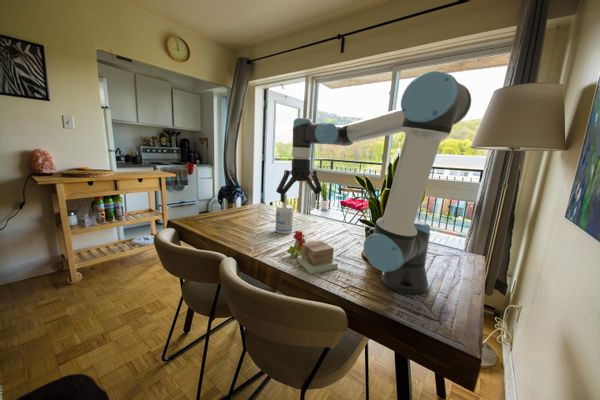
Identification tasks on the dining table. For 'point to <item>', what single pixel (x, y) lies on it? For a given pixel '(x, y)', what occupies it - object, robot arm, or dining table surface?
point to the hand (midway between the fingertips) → (299, 208)
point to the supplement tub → (284, 219)
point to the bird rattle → (297, 244)
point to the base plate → (316, 268)
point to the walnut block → (317, 253)
